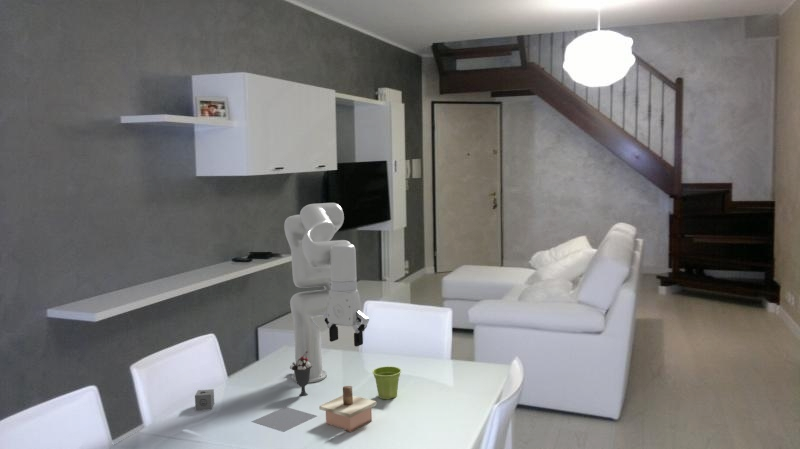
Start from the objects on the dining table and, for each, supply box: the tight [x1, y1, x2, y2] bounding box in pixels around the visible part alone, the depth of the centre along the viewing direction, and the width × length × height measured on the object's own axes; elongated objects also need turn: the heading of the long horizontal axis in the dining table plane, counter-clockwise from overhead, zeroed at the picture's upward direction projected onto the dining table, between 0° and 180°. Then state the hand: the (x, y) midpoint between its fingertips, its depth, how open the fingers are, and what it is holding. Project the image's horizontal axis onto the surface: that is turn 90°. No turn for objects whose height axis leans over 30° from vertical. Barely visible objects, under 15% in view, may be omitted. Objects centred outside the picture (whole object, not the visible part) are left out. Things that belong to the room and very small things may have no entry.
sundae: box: [291, 352, 312, 397], centre depth 218 cm, size 7×7×15 cm
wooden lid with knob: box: [318, 385, 377, 418], centre depth 194 cm, size 12×12×6 cm
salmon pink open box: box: [325, 407, 373, 433], centre depth 194 cm, size 10×10×5 cm
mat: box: [251, 406, 318, 433], centre depth 198 cm, size 14×14×1 cm
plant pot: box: [372, 365, 402, 400], centre depth 216 cm, size 9×9×9 cm
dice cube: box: [194, 388, 215, 411], centre depth 211 cm, size 5×5×5 cm
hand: (346, 342), depth 193 cm, fingers open, 9 cm apart
